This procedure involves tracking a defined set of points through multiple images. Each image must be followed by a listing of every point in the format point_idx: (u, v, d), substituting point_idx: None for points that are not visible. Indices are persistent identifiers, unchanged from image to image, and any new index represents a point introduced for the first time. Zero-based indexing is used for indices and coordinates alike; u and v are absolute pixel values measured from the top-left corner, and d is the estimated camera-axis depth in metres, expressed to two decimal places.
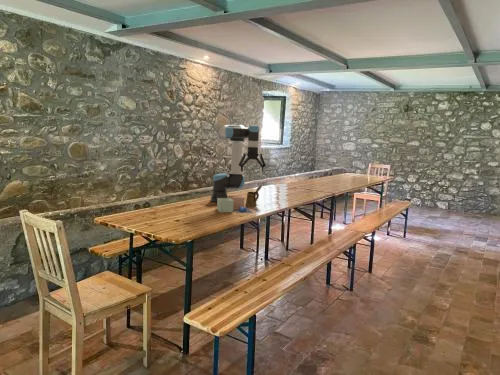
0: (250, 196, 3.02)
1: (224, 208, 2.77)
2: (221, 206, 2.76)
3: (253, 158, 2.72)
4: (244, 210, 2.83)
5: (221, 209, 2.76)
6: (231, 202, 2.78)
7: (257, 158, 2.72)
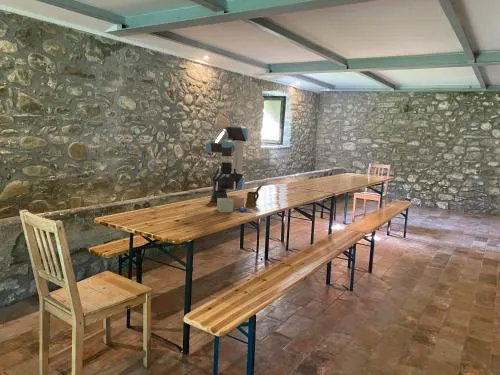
0: (250, 196, 3.02)
1: (224, 208, 2.77)
2: (221, 206, 2.76)
3: (226, 173, 2.77)
4: (244, 210, 2.83)
5: (221, 209, 2.76)
6: (231, 202, 2.78)
7: (230, 173, 2.78)
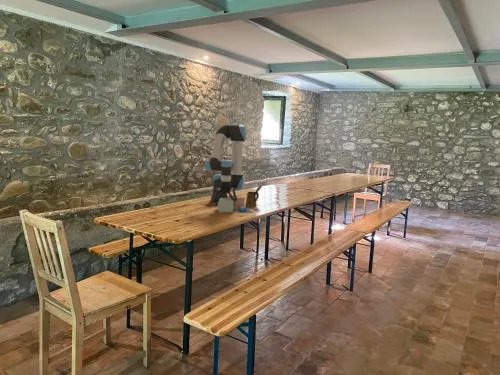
0: (250, 196, 3.02)
1: (224, 208, 2.77)
2: (221, 206, 2.76)
3: (226, 192, 2.80)
4: (244, 210, 2.83)
5: (221, 209, 2.76)
6: (231, 202, 2.78)
7: (229, 192, 2.80)
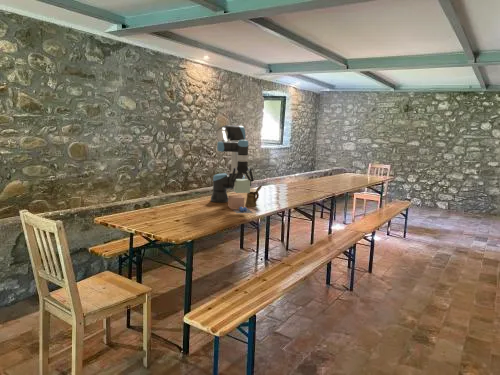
0: (250, 196, 3.02)
1: (241, 188, 2.75)
2: (238, 186, 2.74)
3: (243, 172, 2.78)
4: (244, 210, 2.83)
5: (238, 189, 2.75)
6: (248, 182, 2.76)
7: (246, 172, 2.78)
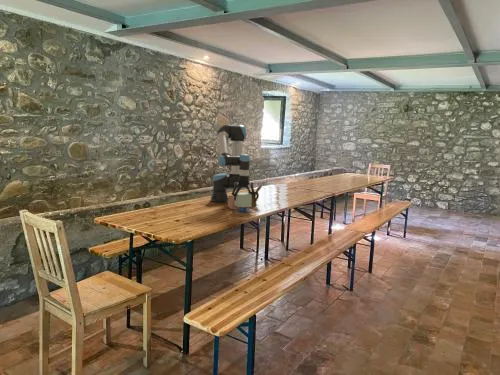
0: None
1: (242, 202, 2.77)
2: (239, 200, 2.76)
3: (244, 186, 2.80)
4: (244, 210, 2.83)
5: (239, 203, 2.76)
6: (249, 196, 2.78)
7: (247, 186, 2.80)
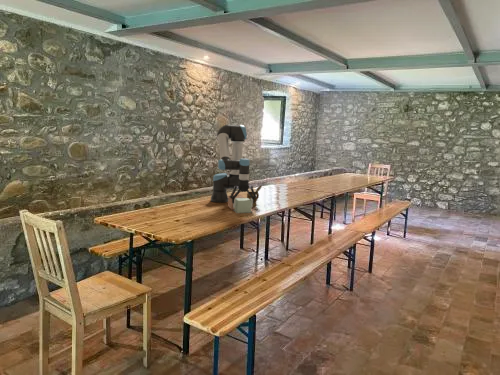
0: (250, 196, 3.02)
1: (242, 208, 2.78)
2: (239, 206, 2.77)
3: (244, 190, 2.80)
4: None
5: (239, 209, 2.77)
6: (249, 202, 2.78)
7: (248, 190, 2.80)
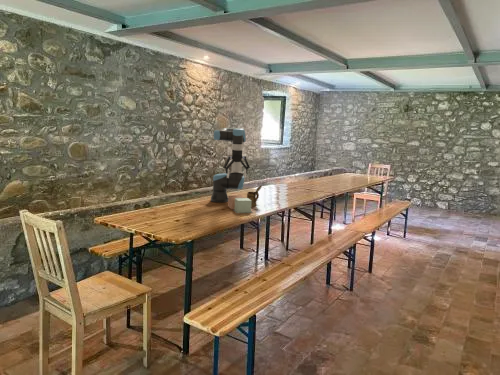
0: (250, 196, 3.02)
1: (242, 208, 2.78)
2: (239, 206, 2.77)
3: (237, 161, 2.83)
4: None
5: (239, 209, 2.77)
6: (249, 202, 2.78)
7: (241, 161, 2.83)
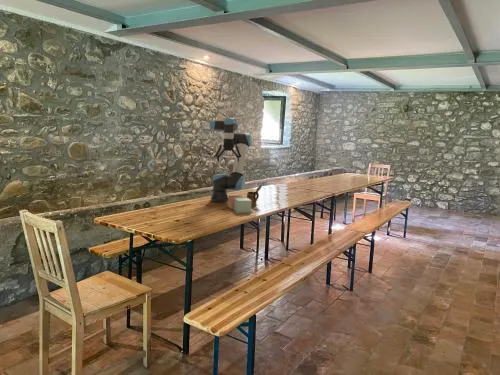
0: (250, 196, 3.02)
1: (242, 208, 2.78)
2: (239, 206, 2.77)
3: (229, 149, 2.87)
4: None
5: (239, 209, 2.77)
6: (249, 202, 2.78)
7: None
